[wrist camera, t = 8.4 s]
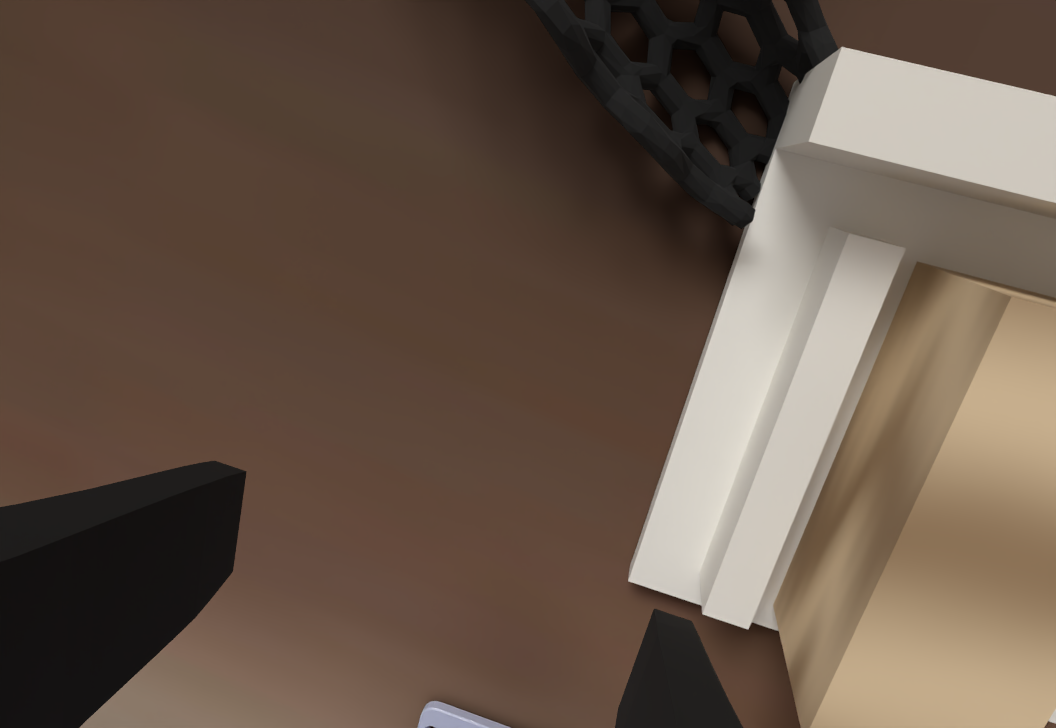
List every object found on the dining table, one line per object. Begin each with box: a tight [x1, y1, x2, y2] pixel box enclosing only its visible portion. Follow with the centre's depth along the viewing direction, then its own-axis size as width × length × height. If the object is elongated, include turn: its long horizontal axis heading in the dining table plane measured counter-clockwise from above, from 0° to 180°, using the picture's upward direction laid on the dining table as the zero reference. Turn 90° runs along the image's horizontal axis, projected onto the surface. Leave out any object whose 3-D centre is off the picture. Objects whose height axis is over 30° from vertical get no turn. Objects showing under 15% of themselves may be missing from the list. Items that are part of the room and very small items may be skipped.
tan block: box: [773, 261, 1056, 728], centre depth 16 cm, size 10×4×5 cm, turn 166°
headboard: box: [628, 47, 1056, 723], centre depth 16 cm, size 14×12×5 cm
